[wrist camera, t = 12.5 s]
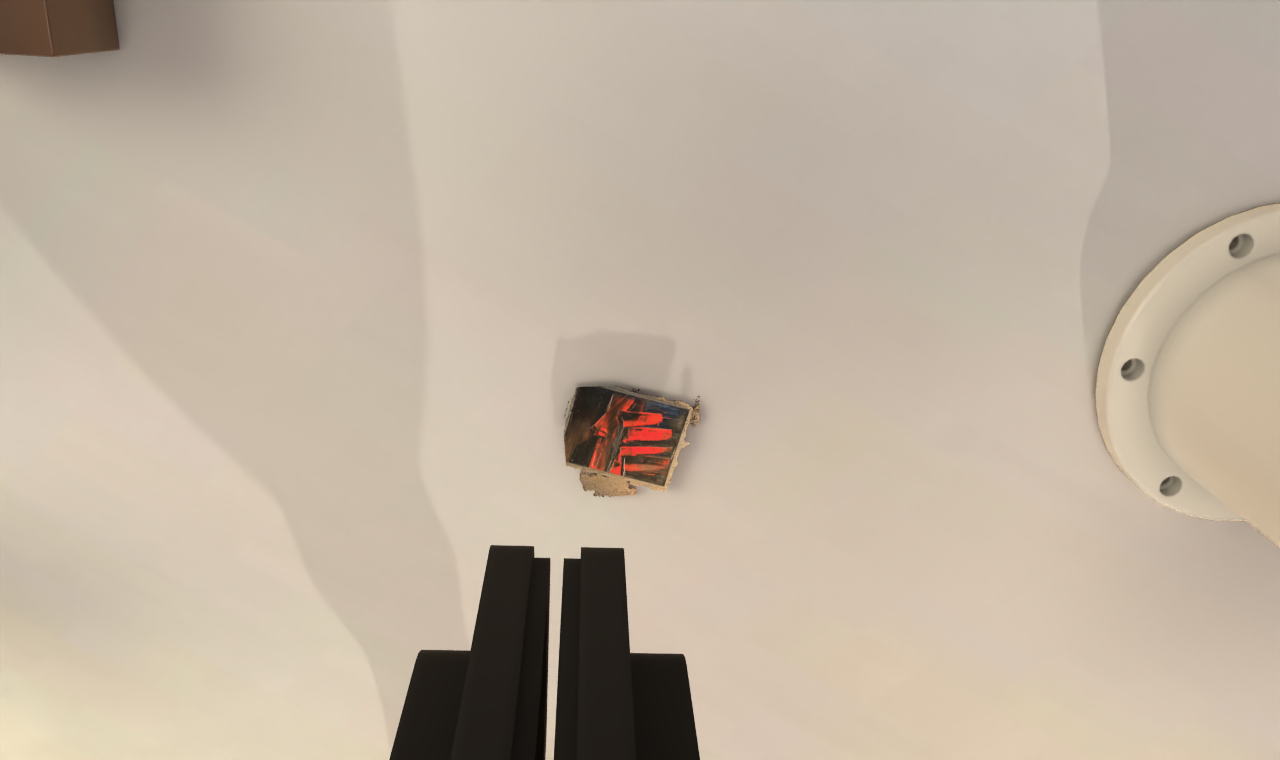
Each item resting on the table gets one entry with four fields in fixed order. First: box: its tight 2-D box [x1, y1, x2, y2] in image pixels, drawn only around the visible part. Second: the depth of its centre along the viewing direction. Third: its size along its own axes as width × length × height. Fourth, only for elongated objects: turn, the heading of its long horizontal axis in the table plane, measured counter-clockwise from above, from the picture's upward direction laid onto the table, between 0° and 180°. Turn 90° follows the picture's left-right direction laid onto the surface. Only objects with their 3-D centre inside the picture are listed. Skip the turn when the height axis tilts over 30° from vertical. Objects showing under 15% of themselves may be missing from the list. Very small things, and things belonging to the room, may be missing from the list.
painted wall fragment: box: [564, 386, 700, 497], centre depth 36 cm, size 5×5×1 cm
